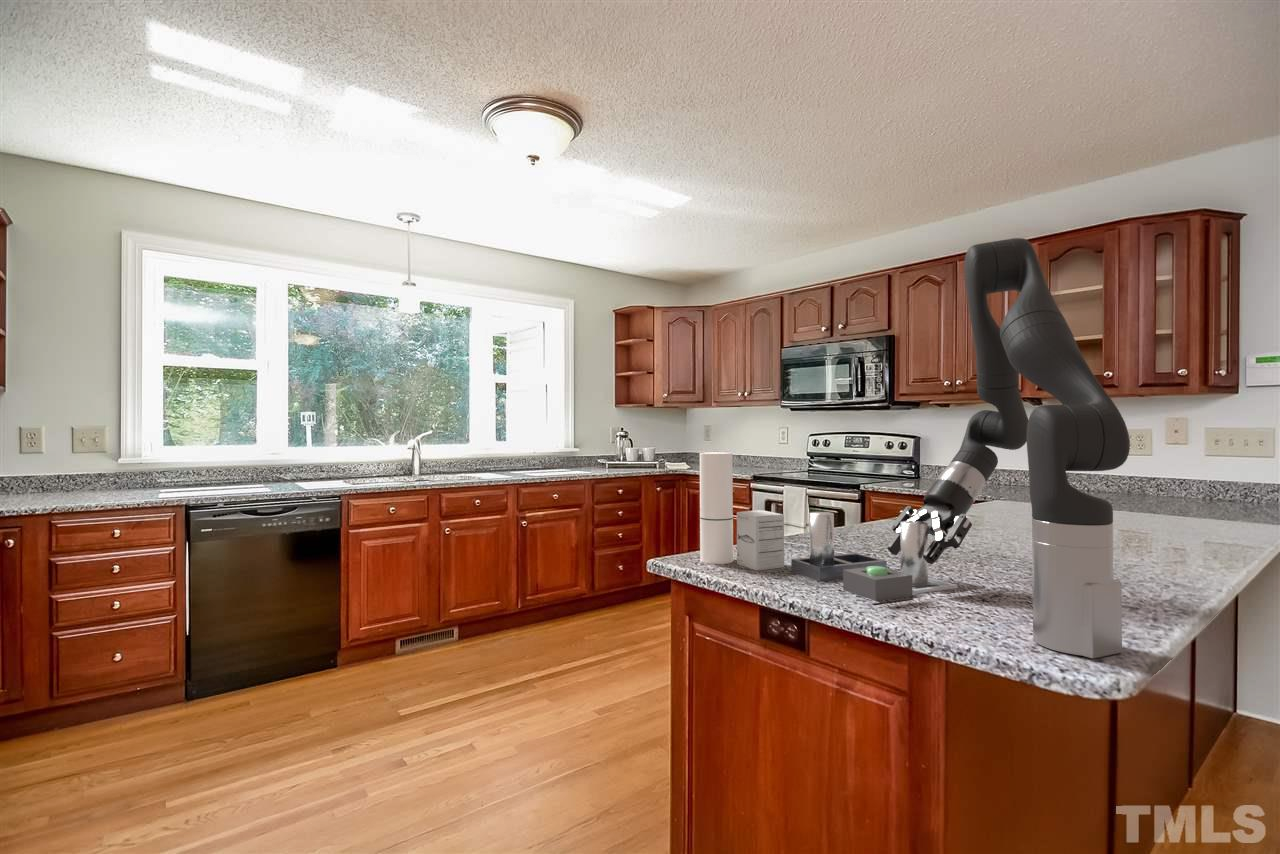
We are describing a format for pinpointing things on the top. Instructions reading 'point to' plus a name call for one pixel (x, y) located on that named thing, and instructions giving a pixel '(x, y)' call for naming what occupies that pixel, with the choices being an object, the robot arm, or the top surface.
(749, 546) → the supplement box
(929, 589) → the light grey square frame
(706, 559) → the cylindrical container
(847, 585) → the block
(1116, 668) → the top surface
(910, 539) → the cylinder
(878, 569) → the button
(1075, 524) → the robot arm
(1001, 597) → the top surface
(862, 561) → the double-well grey tray
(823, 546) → the cylinder
